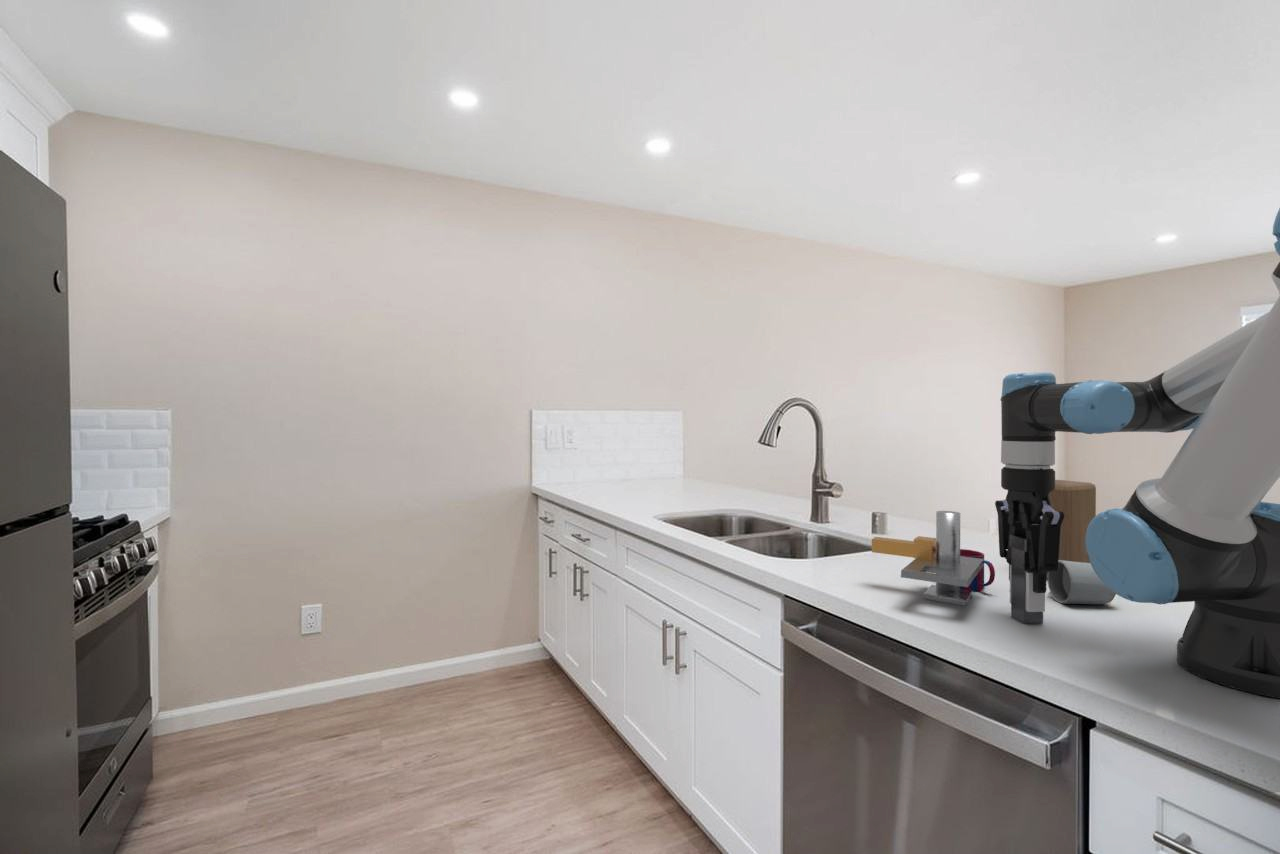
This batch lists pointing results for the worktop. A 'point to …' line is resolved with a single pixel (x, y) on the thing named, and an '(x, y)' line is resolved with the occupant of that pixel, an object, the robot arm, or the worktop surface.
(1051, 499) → the block
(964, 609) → the worktop surface
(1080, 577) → the grey cylinder
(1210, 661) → the robot arm
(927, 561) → the grey plate with post
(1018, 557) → the wedge pin
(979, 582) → the cup
